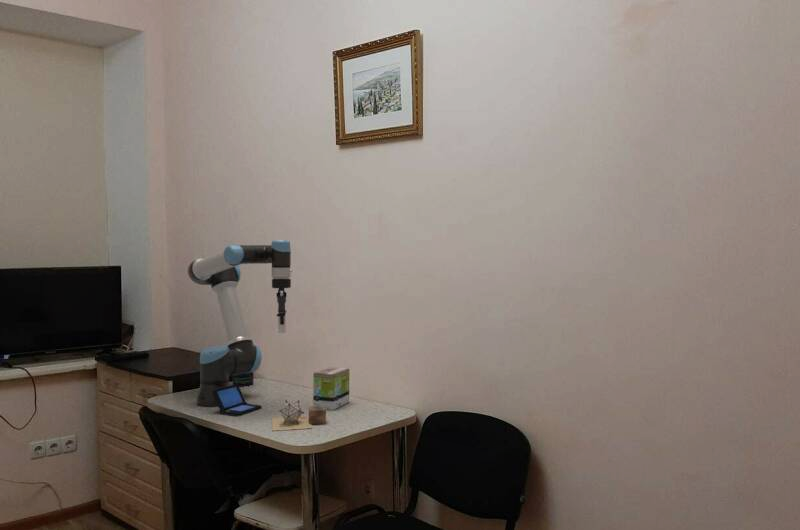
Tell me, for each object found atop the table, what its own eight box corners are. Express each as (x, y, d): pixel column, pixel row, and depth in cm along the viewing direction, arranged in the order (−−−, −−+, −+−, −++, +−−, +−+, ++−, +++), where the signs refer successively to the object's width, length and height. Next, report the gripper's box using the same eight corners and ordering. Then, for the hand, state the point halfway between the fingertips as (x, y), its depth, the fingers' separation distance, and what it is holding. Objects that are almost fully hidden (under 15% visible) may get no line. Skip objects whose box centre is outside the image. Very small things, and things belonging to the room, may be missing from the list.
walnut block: (309, 423, 240) (309, 410, 240) (308, 419, 246) (309, 406, 246) (325, 423, 241) (326, 410, 241) (324, 419, 247) (325, 406, 247)
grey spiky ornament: (296, 431, 244) (311, 408, 246) (290, 428, 236) (306, 404, 238) (277, 418, 247) (293, 395, 249) (270, 415, 239) (286, 391, 241)
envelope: (272, 431, 232) (272, 430, 232) (272, 418, 250) (272, 417, 250) (312, 428, 235) (312, 427, 235) (309, 416, 252) (309, 415, 252)
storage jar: (247, 382, 322) (247, 351, 321) (257, 385, 314) (257, 354, 314) (228, 384, 315) (228, 353, 315) (238, 388, 308) (237, 356, 308)
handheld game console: (237, 417, 253) (237, 393, 253) (211, 414, 259) (210, 390, 259) (263, 408, 267) (263, 386, 267) (237, 405, 273) (237, 383, 273)
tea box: (335, 410, 262) (334, 373, 262) (312, 408, 265) (312, 372, 265) (350, 402, 276) (349, 367, 276) (328, 400, 280) (328, 366, 279)
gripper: (291, 279, 253) (292, 334, 253) (289, 277, 277) (290, 327, 278) (271, 279, 251) (272, 334, 252) (271, 277, 276) (272, 327, 276)
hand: (281, 330), depth 265 cm, fingers open, 13 cm apart
